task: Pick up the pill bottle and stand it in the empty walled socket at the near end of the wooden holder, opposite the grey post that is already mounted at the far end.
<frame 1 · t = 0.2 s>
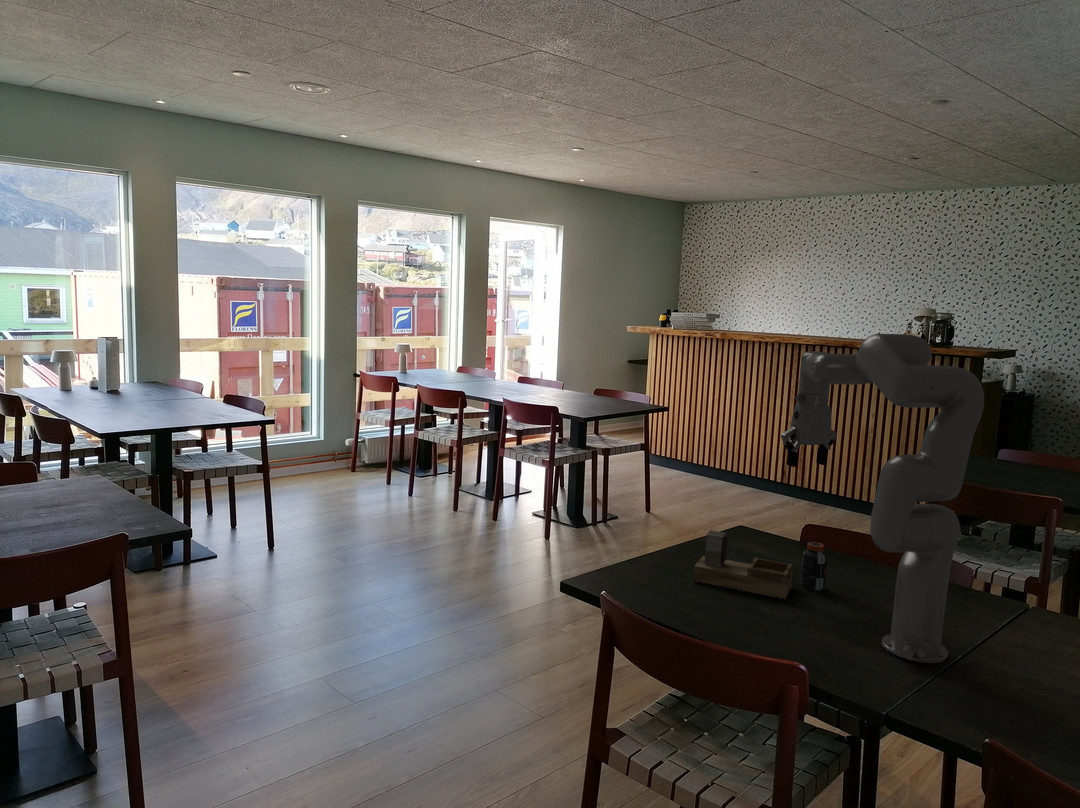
hand: (806, 465, 203), 30 cm above the table, tool pointing down, fingers open, 9 cm apart
wooden holder: (742, 584, 200), on the table
pill bottle: (811, 587, 200), on the table
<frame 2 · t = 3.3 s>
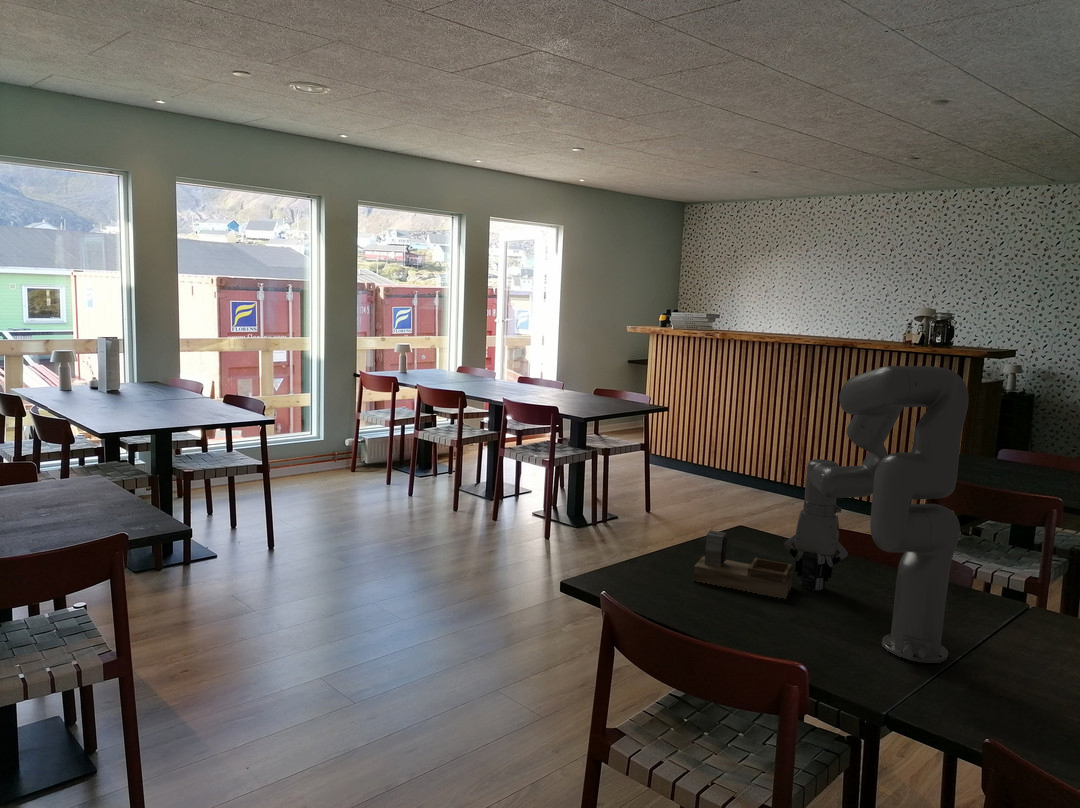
hand: (812, 576, 199), 3 cm above the table, tool pointing down, fingers closed on pill bottle, 6 cm apart
pill bottle: (811, 587, 200), on the table, touching gripper
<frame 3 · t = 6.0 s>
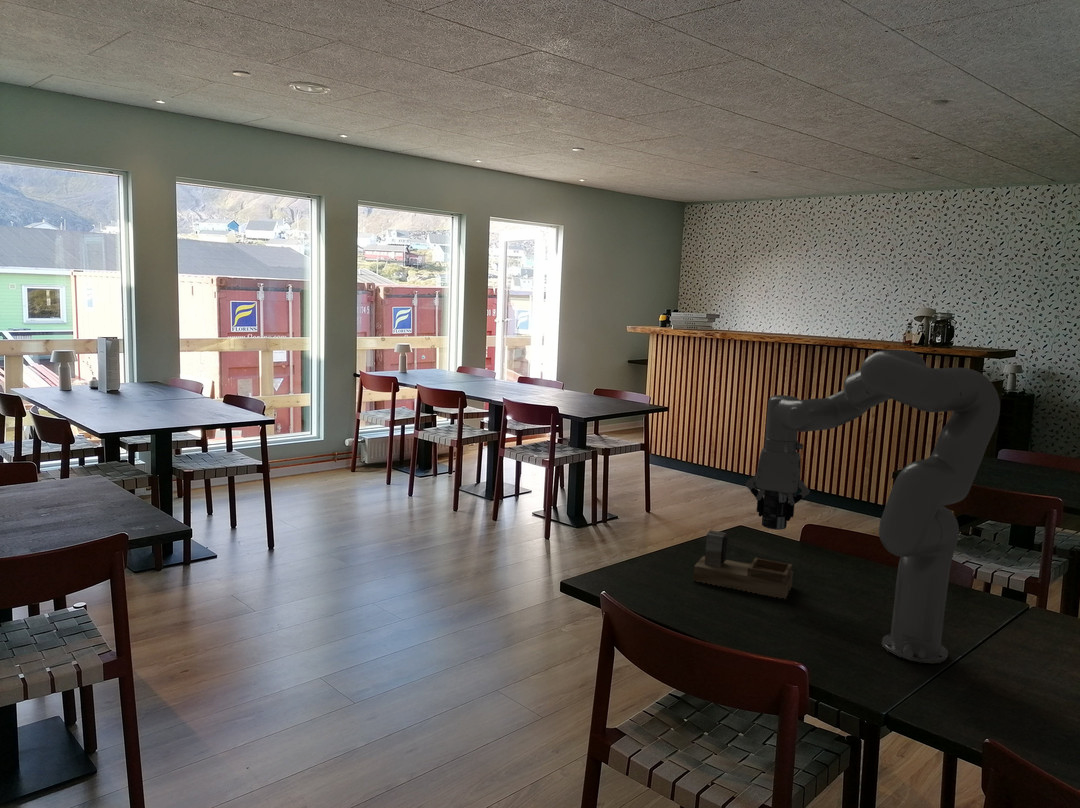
hand: (774, 516, 194), 19 cm above the table, tool pointing down, fingers closed on pill bottle, 6 cm apart
pill bottle: (773, 527, 194), point 16 cm above the table, touching gripper
when the fingers open (7 cm above the table, at t = 8.8 s): pill bottle stays where it is, resting on wooden holder.
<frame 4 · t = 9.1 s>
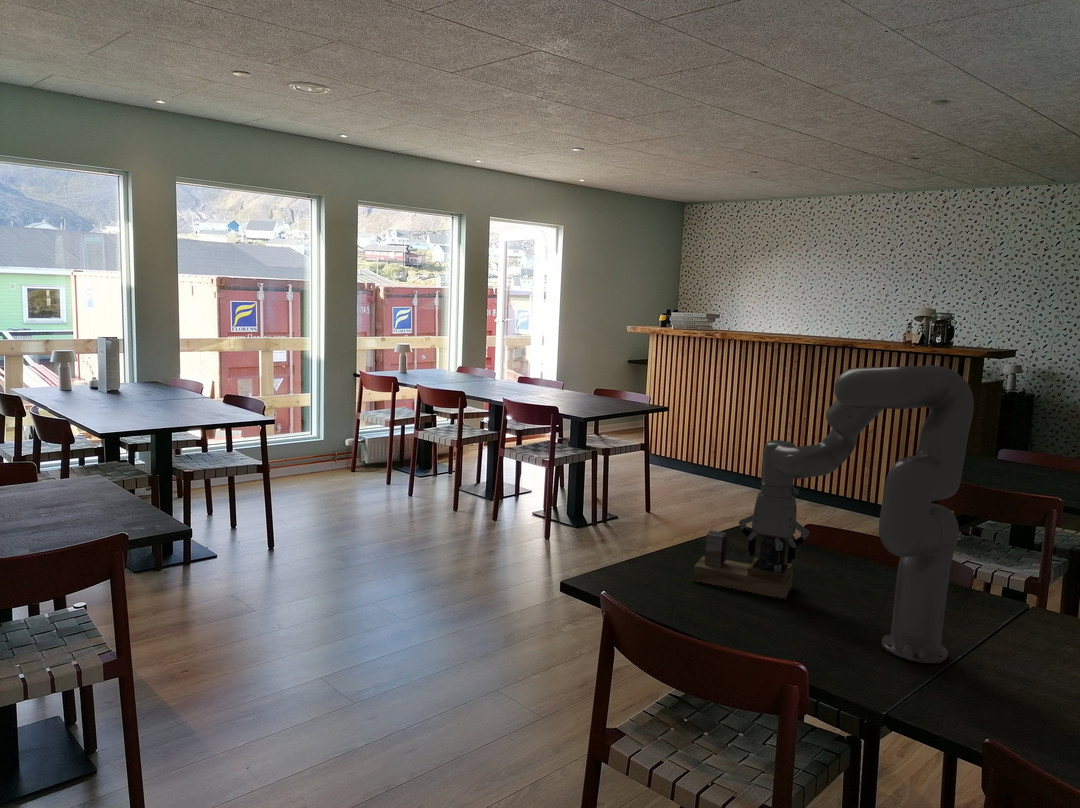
hand: (770, 558, 196), 8 cm above the table, tool pointing down, fingers open, 8 cm apart
pill bottle: (770, 574, 196), point 4 cm above the table, touching wooden holder
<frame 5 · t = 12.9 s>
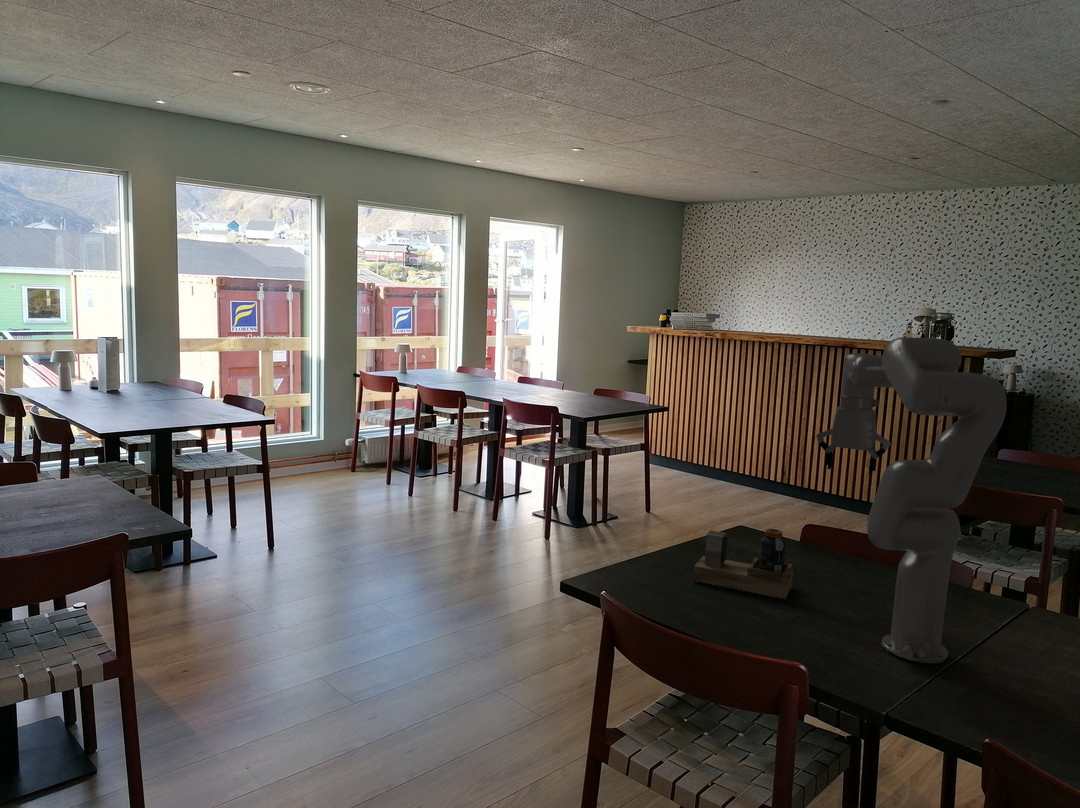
hand: (849, 470, 196), 30 cm above the table, tool pointing down, fingers open, 9 cm apart
nothing on the table moved.
at the end: pill bottle 0.2 cm from the target spot on the wooden holder, point 3.8 cm above the wooden holder's base; pill bottle tilted 0°; the gripper is holding nothing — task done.
